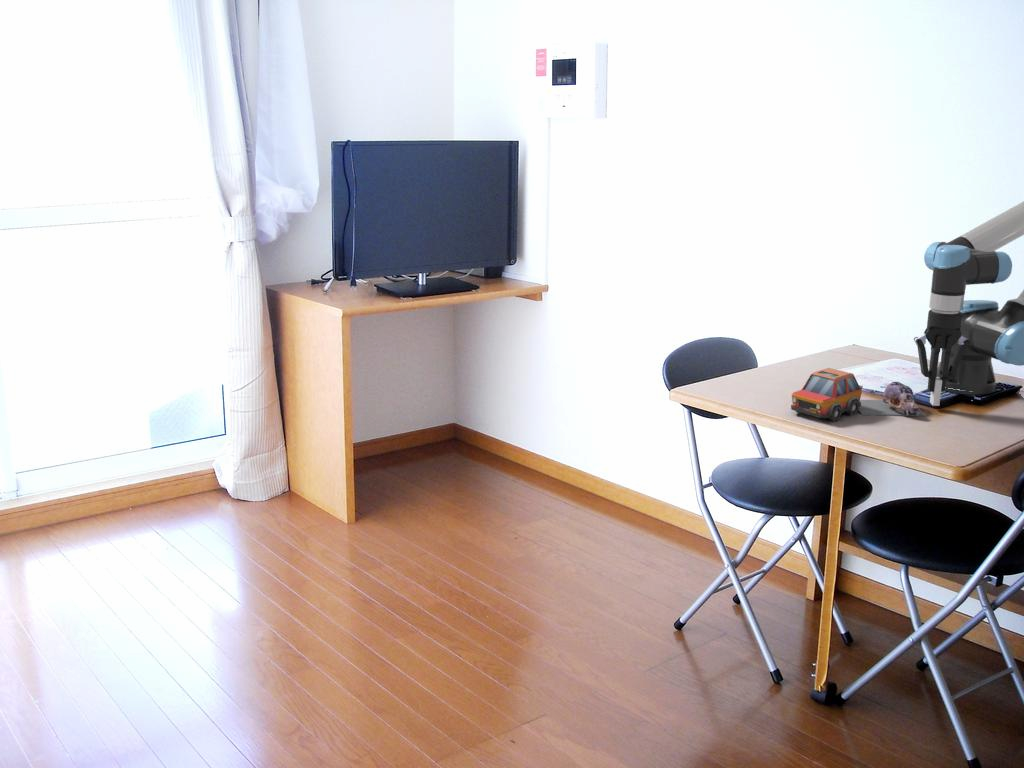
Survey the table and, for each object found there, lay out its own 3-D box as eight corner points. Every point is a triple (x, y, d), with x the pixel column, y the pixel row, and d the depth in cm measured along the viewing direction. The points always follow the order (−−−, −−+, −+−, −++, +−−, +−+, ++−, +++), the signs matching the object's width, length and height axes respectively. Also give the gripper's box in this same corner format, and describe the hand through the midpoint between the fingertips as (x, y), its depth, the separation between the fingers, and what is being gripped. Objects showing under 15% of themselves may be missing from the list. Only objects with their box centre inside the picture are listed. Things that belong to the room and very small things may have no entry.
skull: (926, 418, 251) (929, 393, 250) (894, 418, 251) (897, 394, 249) (907, 402, 263) (910, 379, 261) (877, 403, 263) (879, 379, 261)
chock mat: (911, 401, 265) (912, 400, 264) (925, 416, 254) (925, 414, 253) (851, 400, 266) (851, 399, 266) (861, 415, 255) (861, 413, 255)
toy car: (784, 414, 256) (787, 375, 254) (826, 400, 266) (829, 362, 264) (824, 426, 248) (828, 385, 245) (865, 411, 258) (869, 372, 255)
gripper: (968, 307, 254) (956, 399, 261) (913, 306, 255) (903, 398, 262) (979, 314, 247) (966, 409, 254) (922, 313, 248) (911, 408, 255)
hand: (934, 403), depth 258 cm, fingers closed
